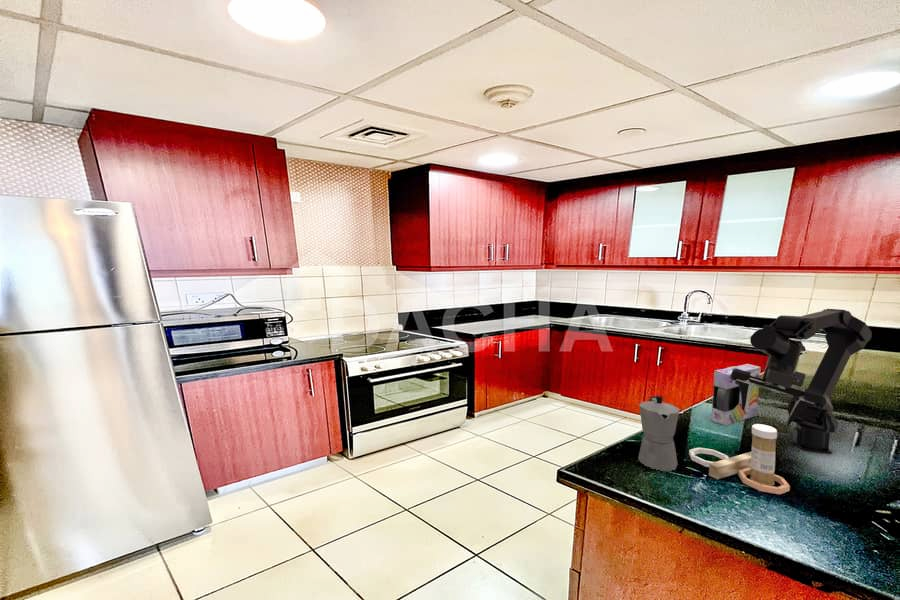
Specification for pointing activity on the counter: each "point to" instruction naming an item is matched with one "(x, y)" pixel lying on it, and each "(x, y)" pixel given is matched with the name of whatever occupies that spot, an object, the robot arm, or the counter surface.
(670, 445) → the coffeepot
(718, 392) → the cake pan box
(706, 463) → the collar
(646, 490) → the counter surface
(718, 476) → the door edge rail
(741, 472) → the keeper collar
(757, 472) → the sprinkles bottle
